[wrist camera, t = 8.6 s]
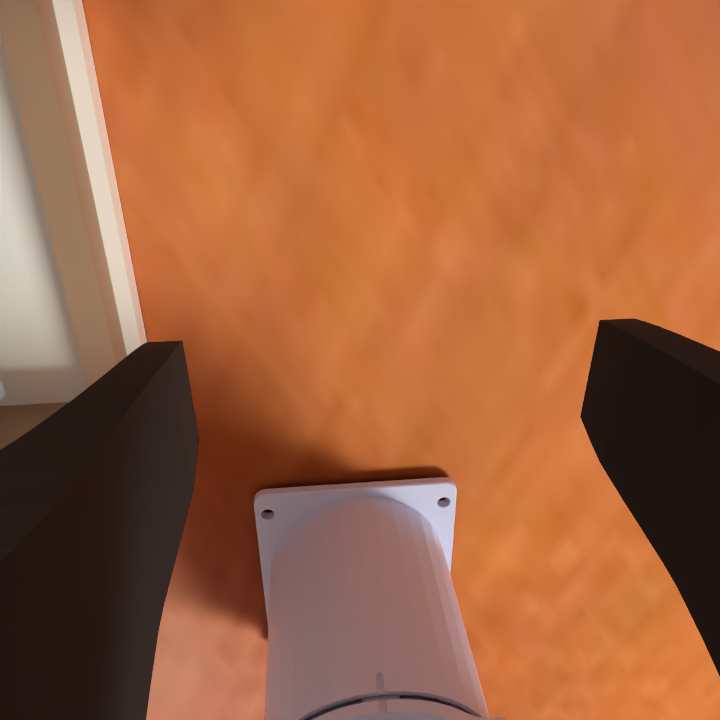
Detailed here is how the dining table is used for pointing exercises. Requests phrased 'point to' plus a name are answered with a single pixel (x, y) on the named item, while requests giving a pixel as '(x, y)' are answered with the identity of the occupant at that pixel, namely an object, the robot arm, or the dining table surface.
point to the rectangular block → (1, 390)
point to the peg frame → (57, 220)
